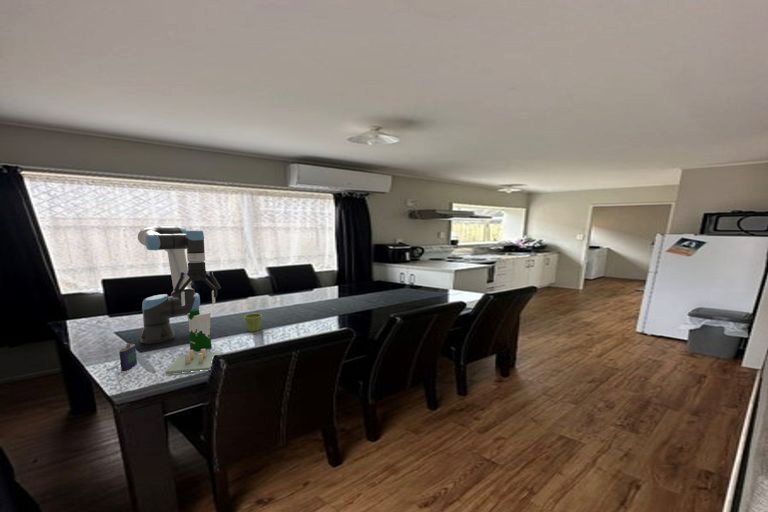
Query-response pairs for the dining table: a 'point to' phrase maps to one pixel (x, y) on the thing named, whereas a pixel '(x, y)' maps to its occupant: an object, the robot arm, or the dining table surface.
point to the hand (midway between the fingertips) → (198, 304)
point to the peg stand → (192, 362)
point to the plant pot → (253, 322)
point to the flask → (128, 357)
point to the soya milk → (199, 330)
